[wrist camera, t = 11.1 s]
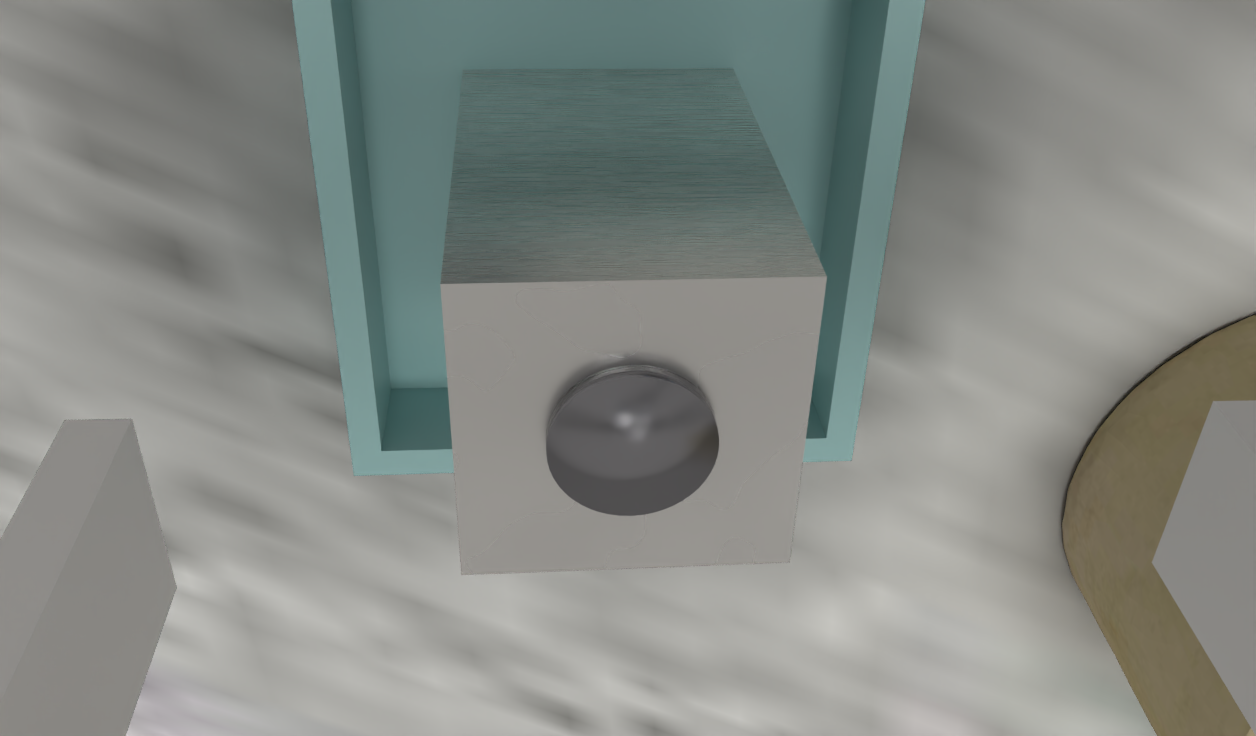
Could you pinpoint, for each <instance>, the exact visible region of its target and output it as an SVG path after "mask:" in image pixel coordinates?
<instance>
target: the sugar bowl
mask: <svg viewBox="0 0 1256 736" xmlns="http://www.w3.org/2000/svg"><path fill="white" fill-rule="evenodd" d="M1249 400H1256V315H1253V316H1250V317H1248V318H1246V319H1244V320H1241V321H1239V322H1237V323H1235V324H1233V325H1230V326H1228V327H1226V328H1224V329H1221V330H1219V331H1217V332H1215V333H1213V334H1211V335H1209V336H1208V337H1206V338H1204V339H1203V340H1201V341H1199V342H1198V343H1196V344H1195V345H1193V346H1192V347H1190V348H1188V349H1187V350H1185V351H1184V352H1182V353H1181V354H1179V355H1178V356H1176V357H1174V358H1173V359H1171V360H1170V361H1168V362H1167V363H1165V364H1164V365H1162V366H1161V367H1159V368H1158V369H1157V370H1156V371H1155V372H1154V373H1152V374H1151V375H1150V376H1149V377H1148V378H1147V379H1145V380H1144V381H1143V382H1142V383H1141V384H1140V385H1139V386H1137V387H1136V388H1135V389H1134V390H1133V391H1132V392H1131V393H1130V394H1129V395H1128V396H1127V397H1126V398H1125V399H1124V400H1123V401H1122V402H1121V403H1120V404H1119V405H1118V407H1117V408H1116V409H1115V410H1114V411H1113V412H1112V414H1111V415H1110V416H1109V417H1108V418H1107V419H1106V421H1105V422H1104V423H1103V424H1102V426H1101V427H1100V428H1099V430H1098V431H1097V432H1096V434H1095V435H1094V437H1093V439H1092V440H1091V442H1090V444H1089V445H1088V447H1087V449H1086V451H1085V453H1084V455H1083V457H1082V459H1081V460H1080V462H1079V464H1078V466H1077V468H1076V471H1075V473H1074V476H1073V478H1072V481H1071V483H1070V486H1069V488H1068V492H1067V499H1066V507H1065V513H1064V518H1063V522H1062V531H1063V544H1064V550H1065V553H1066V557H1067V560H1068V563H1069V566H1070V570H1071V573H1072V575H1073V577H1074V579H1075V581H1076V583H1077V585H1078V587H1079V589H1080V591H1081V593H1082V594H1083V596H1084V598H1085V600H1086V602H1087V604H1088V605H1089V607H1090V609H1091V611H1092V613H1093V615H1094V617H1095V619H1096V621H1097V623H1098V625H1099V627H1100V629H1101V631H1102V632H1103V634H1104V636H1105V638H1106V640H1107V642H1108V643H1109V645H1110V647H1111V649H1112V651H1113V652H1114V654H1115V656H1116V658H1117V660H1118V662H1119V664H1120V666H1121V668H1122V670H1123V672H1124V674H1125V676H1126V678H1127V680H1128V682H1129V684H1130V686H1131V688H1132V690H1133V692H1134V693H1135V695H1136V697H1137V699H1138V701H1139V703H1140V705H1141V707H1142V708H1143V710H1144V712H1145V714H1146V716H1147V718H1148V720H1149V722H1150V723H1151V725H1152V727H1153V729H1154V731H1155V732H1156V734H1157V736H1256V735H1255V734H1254V732H1253V730H1252V729H1251V727H1250V725H1249V724H1248V722H1247V720H1246V719H1245V717H1244V715H1243V714H1242V712H1241V710H1240V709H1239V707H1238V705H1237V704H1236V702H1235V700H1234V699H1233V697H1232V695H1231V694H1230V692H1229V690H1228V689H1227V687H1226V685H1225V684H1224V682H1223V680H1222V679H1221V677H1220V675H1219V674H1218V672H1217V670H1216V669H1215V667H1214V665H1213V664H1212V662H1211V660H1210V659H1209V657H1208V655H1207V654H1206V652H1205V650H1204V649H1203V647H1202V645H1201V644H1200V642H1199V640H1198V639H1197V637H1196V635H1195V634H1194V632H1193V630H1192V629H1191V627H1190V625H1189V624H1188V622H1187V620H1186V619H1185V617H1184V615H1183V614H1182V612H1181V610H1180V609H1179V607H1178V605H1177V604H1176V602H1175V600H1174V599H1173V597H1172V595H1171V594H1170V592H1169V590H1168V589H1167V587H1166V585H1165V584H1164V582H1163V580H1162V579H1161V577H1160V575H1159V574H1158V572H1157V570H1156V569H1155V567H1154V565H1153V564H1152V561H1153V558H1154V555H1155V553H1156V550H1157V547H1158V545H1159V542H1160V539H1161V537H1162V534H1163V532H1164V529H1165V526H1166V524H1167V521H1168V518H1169V516H1170V513H1171V511H1172V508H1173V505H1174V503H1175V500H1176V497H1177V495H1178V492H1179V489H1180V487H1181V484H1182V482H1183V479H1184V476H1185V474H1186V471H1187V468H1188V466H1189V463H1190V461H1191V458H1192V455H1193V453H1194V450H1195V447H1196V445H1197V442H1198V439H1199V437H1200V434H1201V432H1202V429H1203V426H1204V424H1205V421H1206V418H1207V416H1208V413H1209V411H1210V408H1211V405H1212V403H1213V401H1249Z"/></svg>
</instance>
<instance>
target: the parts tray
mask: <svg viewBox="0 0 1256 736" xmlns="http://www.w3.org/2000/svg"><path fill="white" fill-rule="evenodd" d="M292 6H293V13H294V21H295V29H296V36H297V44H298V52H299V59H300V67H301V75H302V82H303V90H304V98H305V105H306V113H307V121H308V128H309V136H310V144H311V151H312V159H313V167H314V174H315V182H316V189H317V197H318V205H319V212H320V220H321V228H322V235H323V243H324V251H325V258H326V266H327V274H328V281H329V289H330V297H331V304H332V312H333V320H334V327H335V335H336V342H337V350H338V358H339V365H340V373H341V381H342V388H343V396H344V404H345V411H346V419H347V427H348V434H349V442H350V450H351V457H352V465H353V473H354V476H366V475H398V474H431V473H454V466H453V452H452V438H451V425H450V411H449V397H448V384H447V370H446V356H445V343H444V329H443V315H442V301H441V288H440V281H441V272H442V262H443V253H444V243H445V234H446V224H447V215H448V205H449V196H450V186H451V177H452V167H453V158H454V148H455V139H456V129H457V120H458V110H459V101H460V91H461V81H462V72H463V70H478V69H686V68H733V69H734V71H735V74H736V76H737V78H738V80H739V83H740V85H741V87H742V89H743V91H744V94H745V96H746V98H747V100H748V103H749V105H750V107H751V109H752V111H753V114H754V116H755V118H756V120H757V122H758V125H759V127H760V129H761V131H762V134H763V136H764V138H765V140H766V142H767V145H768V147H769V149H770V151H771V153H772V156H773V158H774V160H775V162H776V165H777V167H778V169H779V171H780V173H781V176H782V178H783V180H784V182H785V184H786V187H787V189H788V191H789V193H790V196H791V198H792V200H793V202H794V204H795V207H796V209H797V211H798V213H799V216H800V218H801V220H802V222H803V224H804V227H805V229H806V231H807V233H808V235H809V238H810V240H811V242H812V244H813V247H814V249H815V251H816V253H817V255H818V258H819V260H820V262H821V264H822V266H823V269H824V271H825V273H826V275H827V281H826V289H825V297H824V304H823V312H822V319H821V327H820V335H819V342H818V350H817V358H816V365H815V373H814V380H813V388H812V396H811V403H810V411H809V419H808V426H807V434H806V442H805V449H804V457H803V462H822V461H852V455H853V448H854V442H855V436H856V430H857V423H858V417H859V411H860V405H861V399H862V392H863V386H864V380H865V374H866V367H867V361H868V355H869V349H870V343H871V336H872V330H873V324H874V318H875V311H876V305H877V299H878V293H879V287H880V280H881V274H882V268H883V262H884V255H885V249H886V243H887V237H888V230H889V224H890V218H891V212H892V206H893V199H894V193H895V187H896V181H897V174H898V168H899V162H900V156H901V150H902V143H903V137H904V131H905V125H906V118H907V112H908V106H909V100H910V94H911V87H912V81H913V75H914V69H915V62H916V56H917V50H918V44H919V38H920V31H921V25H922V19H923V13H924V6H925V0H292Z"/></svg>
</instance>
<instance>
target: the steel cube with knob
mask: <svg viewBox="0 0 1256 736" xmlns="http://www.w3.org/2000/svg"><path fill="white" fill-rule="evenodd" d="M826 281H827V275H826V273H825V271H824V269H823V266H822V264H821V262H820V260H819V258H818V255H817V253H816V251H815V249H814V247H813V244H812V242H811V240H810V238H809V235H808V233H807V231H806V229H805V227H804V224H803V222H802V220H801V218H800V216H799V213H798V211H797V209H796V207H795V204H794V202H793V200H792V198H791V196H790V193H789V191H788V189H787V187H786V184H785V182H784V180H783V178H782V176H781V173H780V171H779V169H778V167H777V165H776V162H775V160H774V158H773V156H772V153H771V151H770V149H769V147H768V145H767V142H766V140H765V138H764V136H763V134H762V131H761V129H760V127H759V125H758V122H757V120H756V118H755V116H754V114H753V111H752V109H751V107H750V105H749V103H748V100H747V98H746V96H745V94H744V91H743V89H742V87H741V85H740V83H739V80H738V78H737V76H736V74H735V71H734V69H733V68H686V69H478V70H463V72H462V81H461V91H460V101H459V110H458V120H457V129H456V139H455V148H454V158H453V167H452V177H451V186H450V196H449V205H448V215H447V224H446V234H445V243H444V253H443V262H442V272H441V281H440V288H441V301H442V315H443V329H444V343H445V356H446V370H447V384H448V397H449V411H450V425H451V438H452V452H453V466H454V480H455V493H456V507H457V521H458V534H459V548H460V562H461V575H474V574H501V573H527V572H553V571H579V570H605V569H631V568H657V567H684V566H710V565H736V564H762V563H788V562H790V556H791V548H792V541H793V533H794V525H795V518H796V510H797V503H798V495H799V487H800V480H801V472H802V464H803V457H804V449H805V442H806V434H807V426H808V419H809V411H810V403H811V396H812V388H813V380H814V373H815V365H816V358H817V350H818V342H819V335H820V327H821V319H822V312H823V304H824V297H825V289H826Z"/></svg>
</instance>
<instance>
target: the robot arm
mask: <svg viewBox="0 0 1256 736" xmlns="http://www.w3.org/2000/svg"><path fill="white" fill-rule="evenodd" d="M1152 564H1153V565H1154V567H1155V569H1156V570H1157V572H1158V574H1159V575H1160V577H1161V579H1162V580H1163V582H1164V584H1165V585H1166V587H1167V589H1168V590H1169V592H1170V594H1171V595H1172V597H1173V599H1174V600H1175V602H1176V604H1177V605H1178V607H1179V609H1180V610H1181V612H1182V614H1183V615H1184V617H1185V619H1186V620H1187V622H1188V624H1189V625H1190V627H1191V629H1192V630H1193V632H1194V634H1195V635H1196V637H1197V639H1198V640H1199V642H1200V644H1201V645H1202V647H1203V649H1204V650H1205V652H1206V654H1207V655H1208V657H1209V659H1210V660H1211V662H1212V664H1213V665H1214V667H1215V669H1216V670H1217V672H1218V674H1219V675H1220V677H1221V679H1222V680H1223V682H1224V684H1225V685H1226V687H1227V689H1228V690H1229V692H1230V694H1231V695H1232V697H1233V699H1234V700H1235V702H1236V704H1237V705H1238V707H1239V709H1240V710H1241V712H1242V714H1243V715H1244V717H1245V719H1246V720H1247V722H1248V724H1249V725H1250V727H1251V729H1252V730H1253V732H1254V734H1255V735H1256V400H1249V401H1213V403H1212V405H1211V408H1210V411H1209V413H1208V416H1207V418H1206V421H1205V424H1204V426H1203V429H1202V432H1201V434H1200V437H1199V439H1198V442H1197V445H1196V447H1195V450H1194V453H1193V455H1192V458H1191V461H1190V463H1189V466H1188V468H1187V471H1186V474H1185V476H1184V479H1183V482H1182V484H1181V487H1180V489H1179V492H1178V495H1177V497H1176V500H1175V503H1174V505H1173V508H1172V511H1171V513H1170V516H1169V518H1168V521H1167V524H1166V526H1165V529H1164V532H1163V534H1162V537H1161V539H1160V542H1159V545H1158V547H1157V550H1156V553H1155V555H1154V558H1153V561H1152ZM176 588H177V586H176V583H175V579H174V575H173V571H172V568H171V564H170V560H169V556H168V553H167V549H166V545H165V541H164V537H163V534H162V530H161V526H160V522H159V519H158V515H157V511H156V507H155V504H154V500H153V496H152V492H151V489H150V485H149V481H148V477H147V474H146V470H145V466H144V462H143V458H142V455H141V451H140V447H139V443H138V440H137V436H136V432H135V428H134V425H133V421H132V419H92V420H64V422H63V424H62V426H61V428H60V430H59V432H58V433H57V435H56V437H55V439H54V441H53V443H52V445H51V446H50V448H49V450H48V452H47V454H46V456H45V457H44V459H43V461H42V463H41V465H40V467H39V469H38V470H37V472H36V474H35V476H34V478H33V480H32V482H31V483H30V485H29V487H28V489H27V491H26V493H25V495H24V496H23V498H22V500H21V502H20V504H19V506H18V508H17V509H16V511H15V513H14V515H13V517H12V519H11V521H10V522H9V524H8V526H7V528H6V530H5V532H4V534H3V535H2V537H1V539H0V736H126V733H127V730H128V727H129V724H130V721H131V718H132V715H133V713H134V710H135V707H136V704H137V701H138V698H139V695H140V692H141V689H142V686H143V684H144V681H145V678H146V675H147V672H148V669H149V666H150V663H151V660H152V658H153V655H154V652H155V649H156V646H157V643H158V640H159V637H160V634H161V631H162V629H163V626H164V623H165V620H166V617H167V614H168V611H169V608H170V605H171V603H172V600H173V597H174V594H175V591H176Z"/></svg>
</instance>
